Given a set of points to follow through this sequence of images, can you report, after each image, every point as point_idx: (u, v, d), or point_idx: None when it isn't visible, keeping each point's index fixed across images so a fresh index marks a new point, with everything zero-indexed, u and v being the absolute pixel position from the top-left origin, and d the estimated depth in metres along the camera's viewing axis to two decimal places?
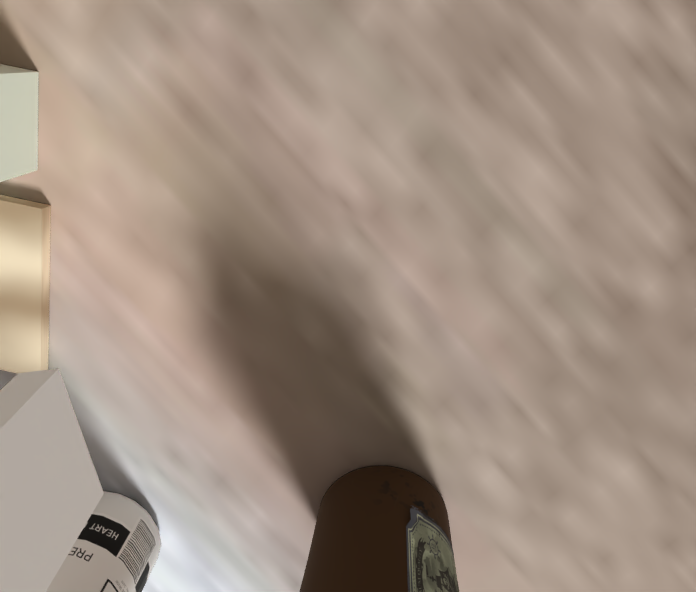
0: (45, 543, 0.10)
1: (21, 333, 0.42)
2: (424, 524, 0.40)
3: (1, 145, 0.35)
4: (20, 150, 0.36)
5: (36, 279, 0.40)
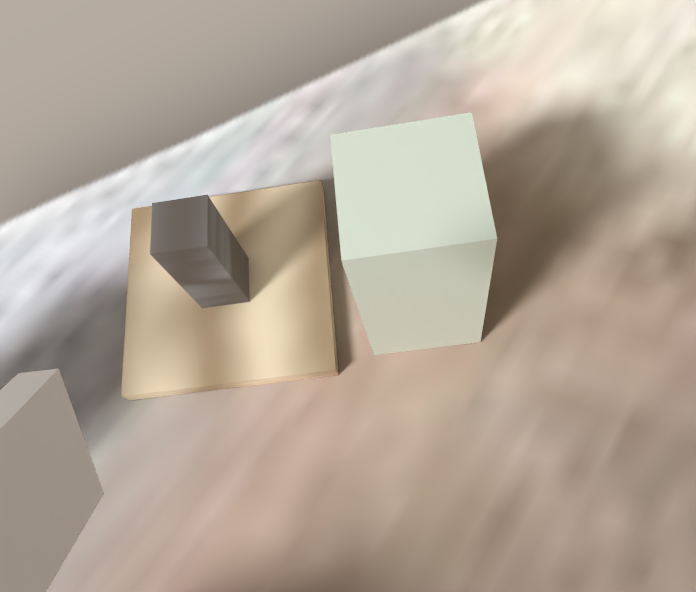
0: (45, 543, 0.10)
1: (176, 366, 0.35)
2: None
3: (407, 328, 0.31)
4: (398, 341, 0.33)
5: (249, 374, 0.34)
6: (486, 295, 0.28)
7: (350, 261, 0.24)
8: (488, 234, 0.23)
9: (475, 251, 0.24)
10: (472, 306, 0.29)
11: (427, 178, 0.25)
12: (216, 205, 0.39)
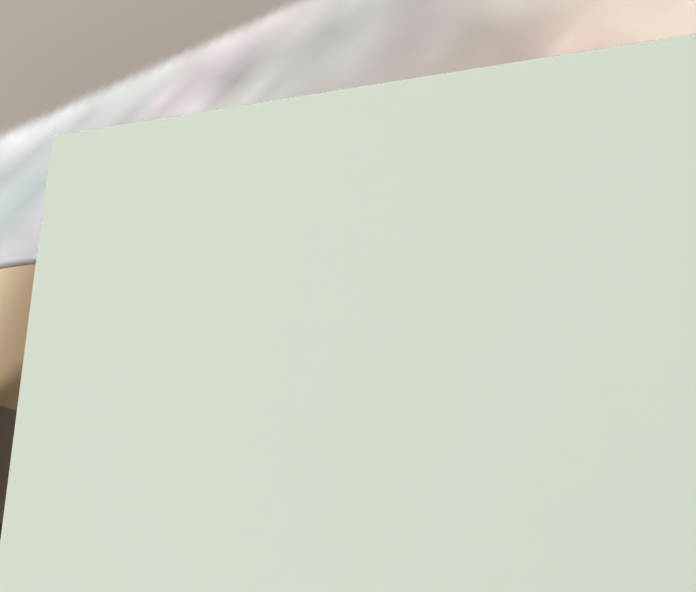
0: None
1: None
2: None
3: None
4: None
5: None
6: None
7: None
8: None
9: None
10: None
11: (622, 444, 0.04)
12: None
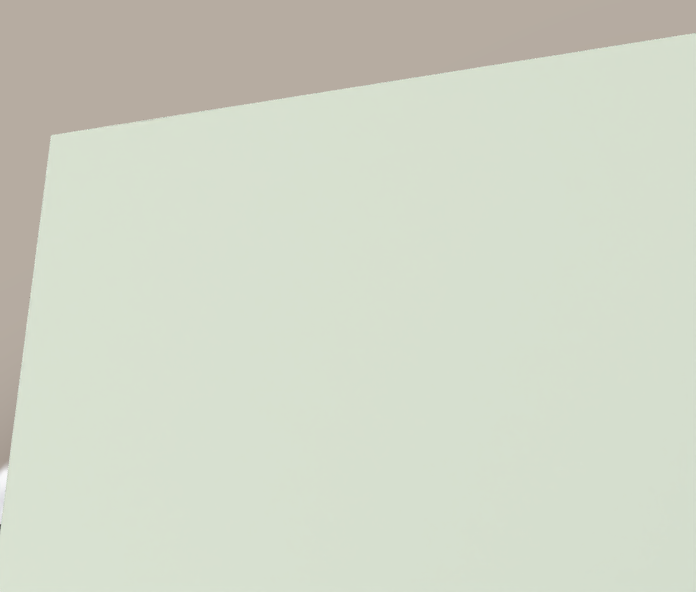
0: None
1: None
2: None
3: None
4: None
5: None
6: None
7: None
8: None
9: None
10: None
11: (623, 445, 0.03)
12: None
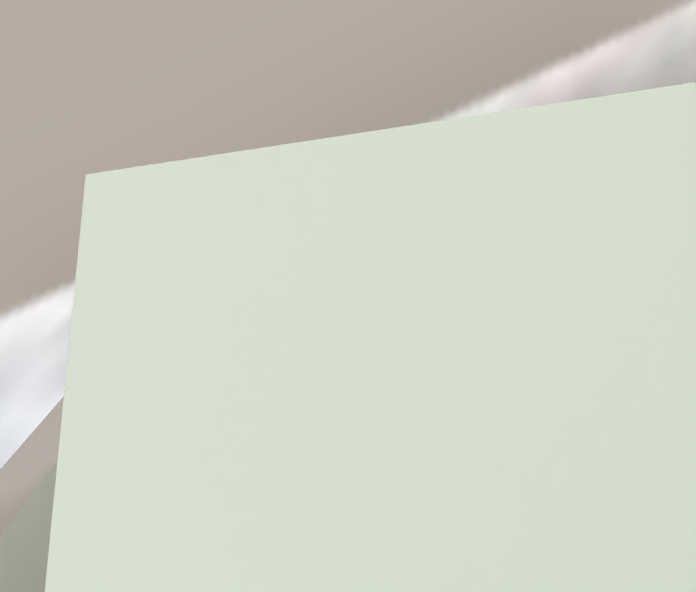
0: None
1: None
2: None
3: None
4: None
5: None
6: None
7: None
8: None
9: None
10: None
11: (605, 463, 0.04)
12: None
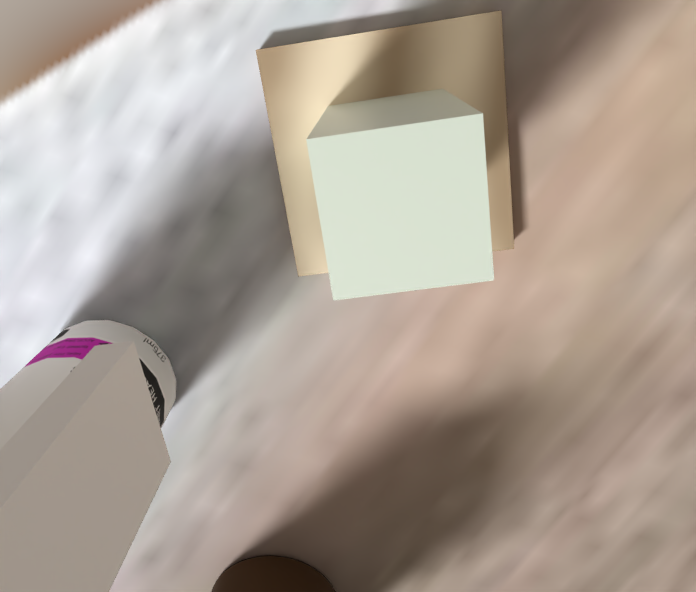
0: (128, 502, 0.11)
1: None
2: None
3: None
4: None
5: None
6: None
7: (342, 297, 0.23)
8: (485, 275, 0.22)
9: None
10: None
11: (424, 206, 0.22)
12: (367, 47, 0.31)
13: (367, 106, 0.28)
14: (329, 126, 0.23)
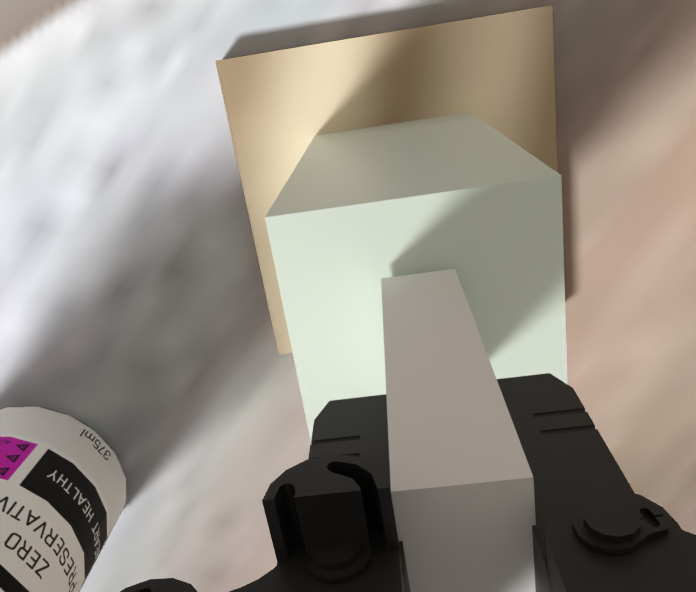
0: None
1: None
2: None
3: None
4: None
5: None
6: None
7: None
8: None
9: None
10: None
11: None
12: (367, 56, 0.23)
13: (367, 141, 0.20)
14: (307, 184, 0.15)
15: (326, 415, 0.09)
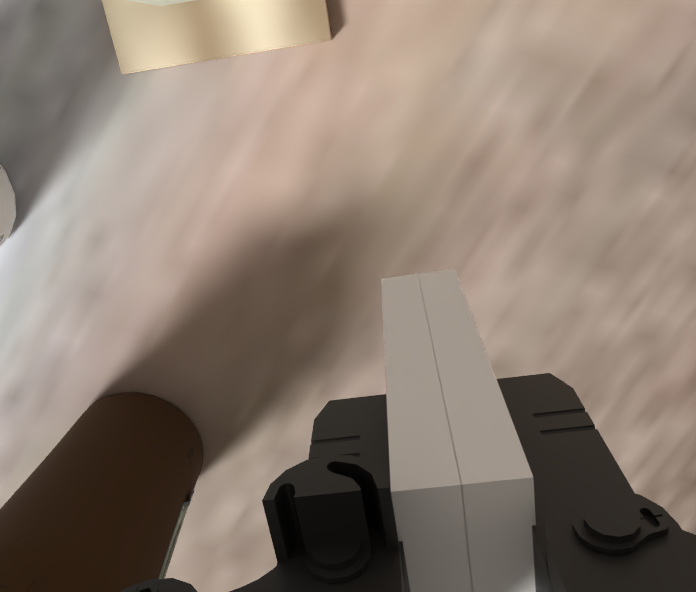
0: None
1: (169, 40, 0.35)
2: (186, 508, 0.42)
3: None
4: None
5: (245, 47, 0.35)
6: None
7: None
8: None
9: None
10: None
11: None
12: None
13: None
14: None
15: (326, 415, 0.09)
